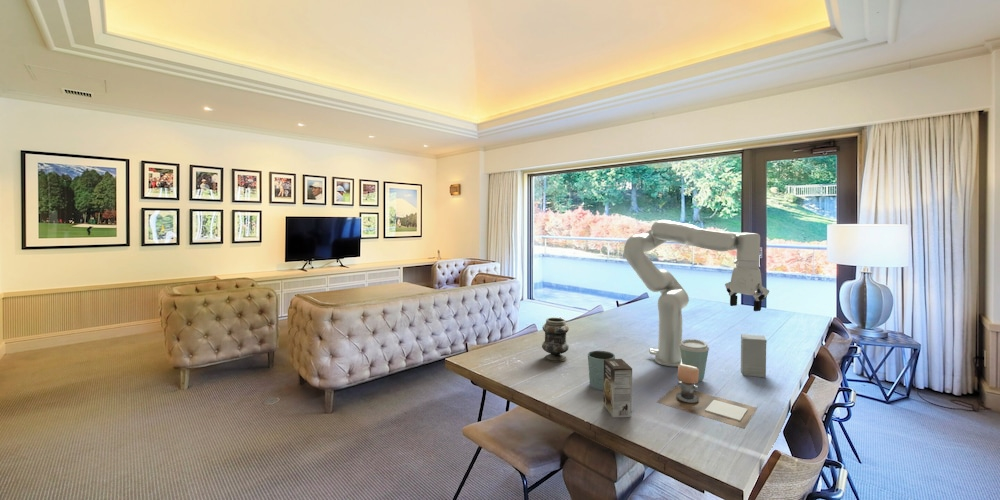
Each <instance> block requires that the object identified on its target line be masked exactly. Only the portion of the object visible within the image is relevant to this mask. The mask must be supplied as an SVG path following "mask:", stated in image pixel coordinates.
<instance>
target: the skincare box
mask: <svg viewBox="0 0 1000 500" xmlns="http://www.w3.org/2000/svg"><path fill="white" fill-rule="evenodd" d="M767 342H768V341H767V339H766V337H765V336H764V335H760V334H748V333H747V334H746V333H740V371H741V374H742V376H746V377H756V378H766V377H767Z"/></svg>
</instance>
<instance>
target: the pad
mask: <svg viewBox="0 0 1000 500" xmlns="http://www.w3.org/2000/svg"><path fill="white" fill-rule="evenodd" d="M747 410H748V409H746V408H743V407H739V406H735V405H732V404H728V403H724V402H721V401H717V400H713V401H712V402H711V403H710V405H709V406H708V407H707V408H706V409H705V411H706V412H710V413H713V414H716V415H720V416H723V417H727V418H730V419H733V420H737V421H741V419H742V418H743V416H744V415H745V413H746V412H747Z"/></svg>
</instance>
